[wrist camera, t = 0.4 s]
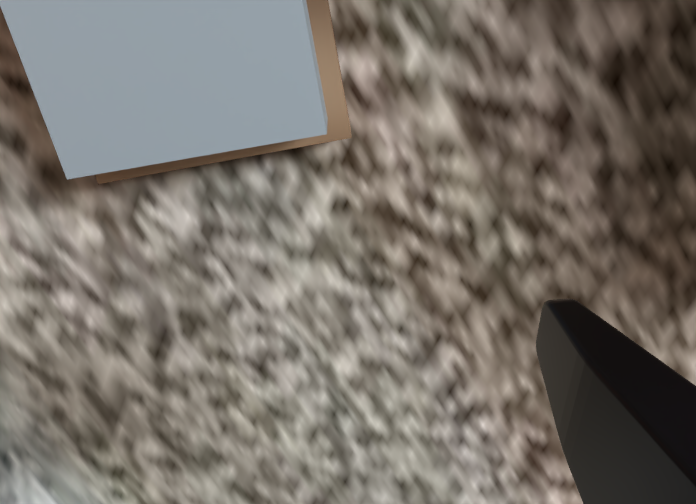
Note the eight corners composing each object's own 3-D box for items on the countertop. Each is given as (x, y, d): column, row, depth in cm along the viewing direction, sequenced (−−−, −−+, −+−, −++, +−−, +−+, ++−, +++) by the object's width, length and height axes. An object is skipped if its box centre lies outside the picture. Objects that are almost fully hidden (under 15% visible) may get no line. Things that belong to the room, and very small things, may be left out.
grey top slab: (327, 118, 19) (327, 134, 17) (98, 158, 19) (66, 179, 17) (275, -167, 16) (266, -195, 14) (2, -112, 16) (-52, -131, 14)
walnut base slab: (350, 123, 22) (351, 137, 19) (122, 165, 22) (98, 184, 20) (300, -157, 18) (295, -180, 16) (30, -100, 19) (-13, -114, 16)
